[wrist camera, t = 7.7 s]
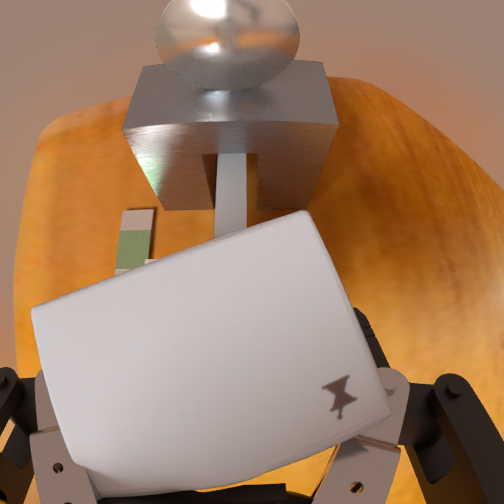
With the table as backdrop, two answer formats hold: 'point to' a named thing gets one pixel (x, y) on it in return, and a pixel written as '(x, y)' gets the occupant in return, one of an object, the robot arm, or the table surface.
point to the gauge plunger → (229, 195)
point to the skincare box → (210, 363)
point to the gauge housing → (225, 111)
